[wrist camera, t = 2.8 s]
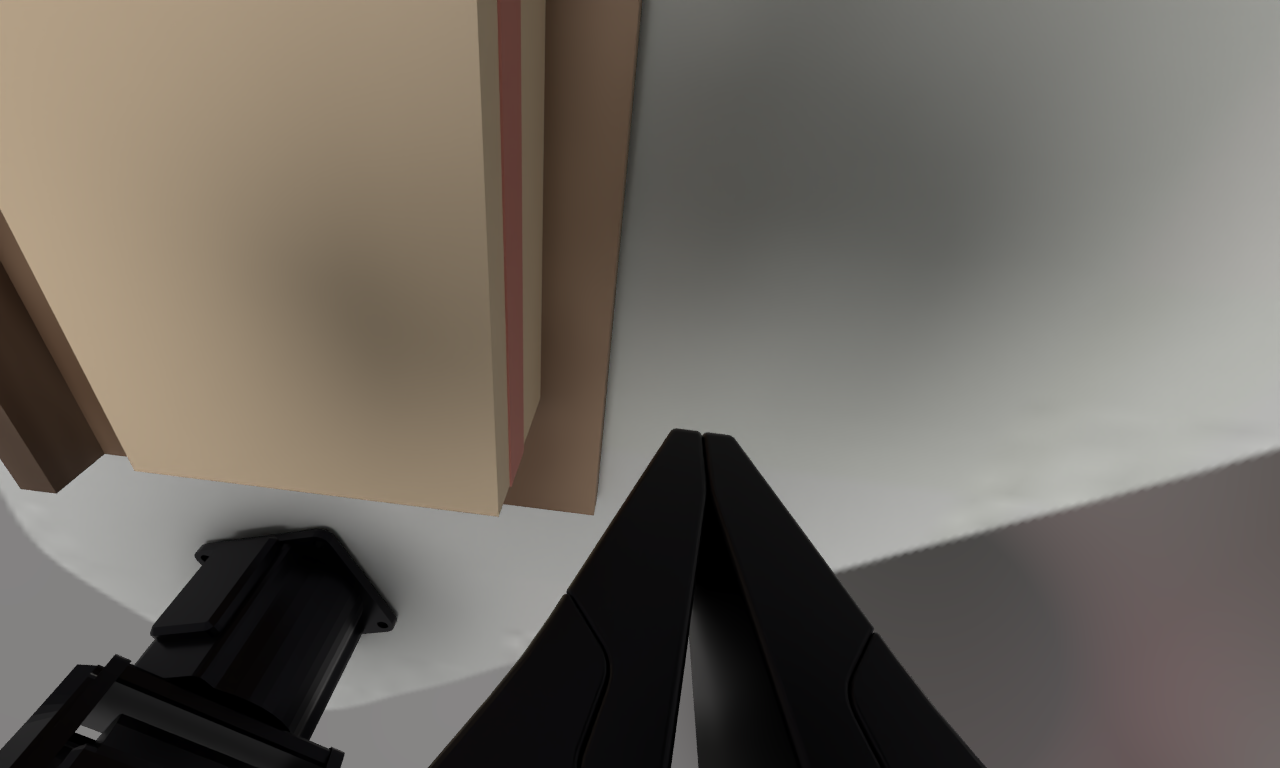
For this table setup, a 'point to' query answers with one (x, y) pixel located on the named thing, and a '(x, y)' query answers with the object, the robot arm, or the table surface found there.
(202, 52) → the kraft carton
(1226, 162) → the table surface
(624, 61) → the display board
